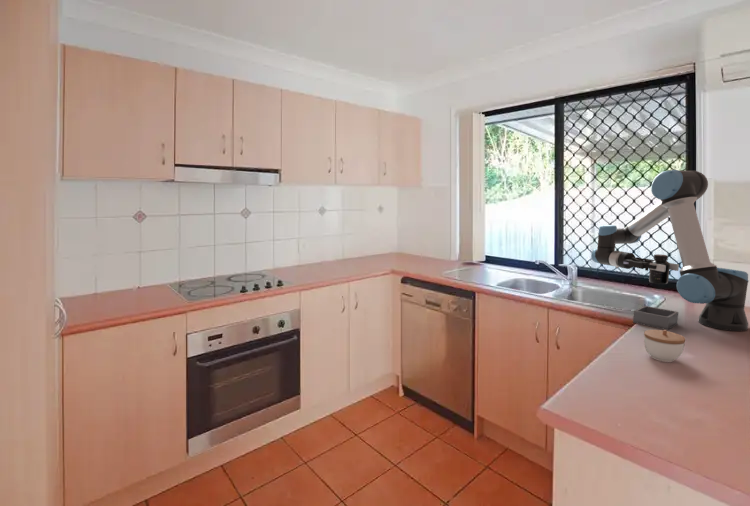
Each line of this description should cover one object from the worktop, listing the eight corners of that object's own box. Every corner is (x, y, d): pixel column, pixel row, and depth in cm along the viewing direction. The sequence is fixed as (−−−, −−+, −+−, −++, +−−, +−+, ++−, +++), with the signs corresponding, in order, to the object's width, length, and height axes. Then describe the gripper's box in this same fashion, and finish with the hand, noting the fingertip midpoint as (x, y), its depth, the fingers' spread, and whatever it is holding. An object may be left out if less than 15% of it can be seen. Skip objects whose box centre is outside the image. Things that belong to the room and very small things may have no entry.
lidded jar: (642, 360, 129) (645, 332, 128) (641, 349, 138) (644, 322, 137) (684, 367, 123) (688, 338, 122) (680, 356, 132) (684, 328, 131)
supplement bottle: (649, 280, 180) (652, 253, 178) (668, 282, 175) (671, 255, 174) (647, 282, 174) (650, 255, 173) (667, 285, 170) (670, 256, 168)
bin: (677, 323, 165) (678, 312, 165) (667, 329, 158) (668, 317, 157) (643, 317, 175) (644, 305, 174) (633, 322, 167) (634, 310, 167)
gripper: (637, 266, 194) (687, 275, 173) (605, 268, 188) (653, 278, 166) (639, 251, 193) (689, 258, 171) (607, 252, 187) (654, 260, 165)
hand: (671, 268), depth 169 cm, fingers closed on supplement bottle, 7 cm apart
